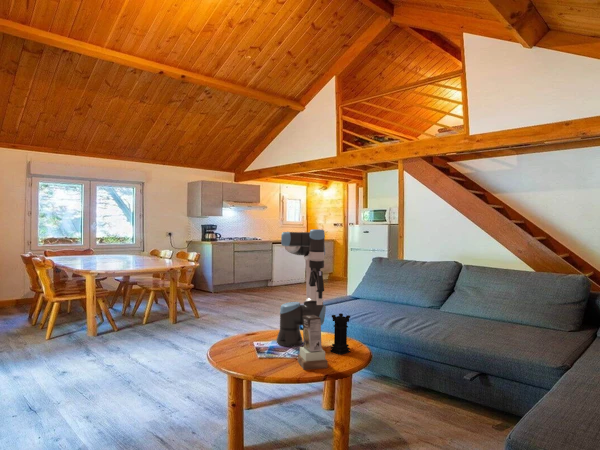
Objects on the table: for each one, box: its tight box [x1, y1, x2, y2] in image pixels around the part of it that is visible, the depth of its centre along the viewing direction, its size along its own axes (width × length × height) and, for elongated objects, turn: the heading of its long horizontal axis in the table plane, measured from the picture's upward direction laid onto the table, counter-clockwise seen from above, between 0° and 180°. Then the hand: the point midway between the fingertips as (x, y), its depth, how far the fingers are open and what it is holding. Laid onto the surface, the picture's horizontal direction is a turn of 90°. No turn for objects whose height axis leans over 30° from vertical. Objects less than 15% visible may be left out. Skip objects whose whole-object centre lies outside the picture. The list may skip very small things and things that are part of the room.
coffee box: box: [302, 315, 323, 352], centre depth 204 cm, size 9×6×16 cm
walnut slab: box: [297, 353, 329, 371], centre depth 204 cm, size 12×12×4 cm
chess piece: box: [329, 312, 352, 356], centre depth 224 cm, size 8×8×20 cm
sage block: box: [299, 346, 326, 361], centre depth 204 cm, size 10×10×4 cm
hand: (315, 301), depth 207 cm, fingers open, 13 cm apart
